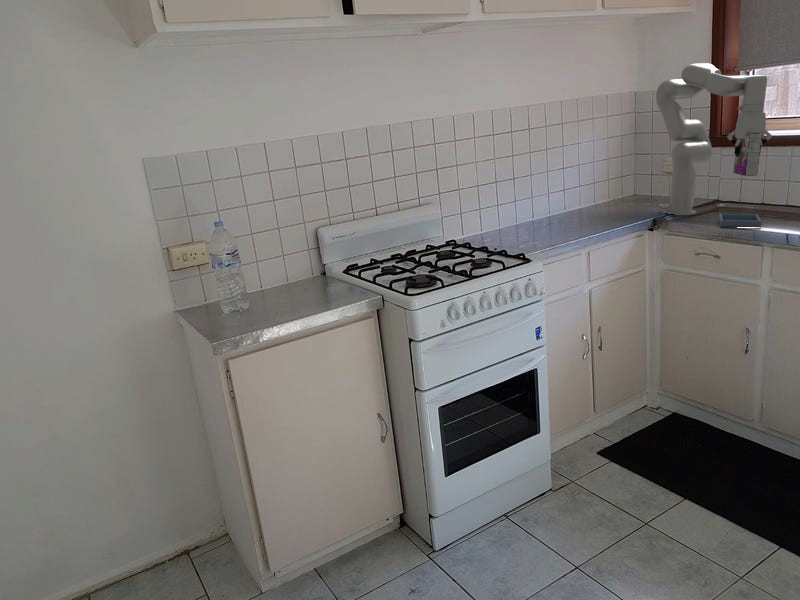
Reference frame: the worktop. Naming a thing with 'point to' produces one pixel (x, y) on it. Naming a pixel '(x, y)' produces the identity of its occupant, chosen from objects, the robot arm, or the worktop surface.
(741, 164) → the candy bar box
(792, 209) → the worktop surface
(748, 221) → the tray
